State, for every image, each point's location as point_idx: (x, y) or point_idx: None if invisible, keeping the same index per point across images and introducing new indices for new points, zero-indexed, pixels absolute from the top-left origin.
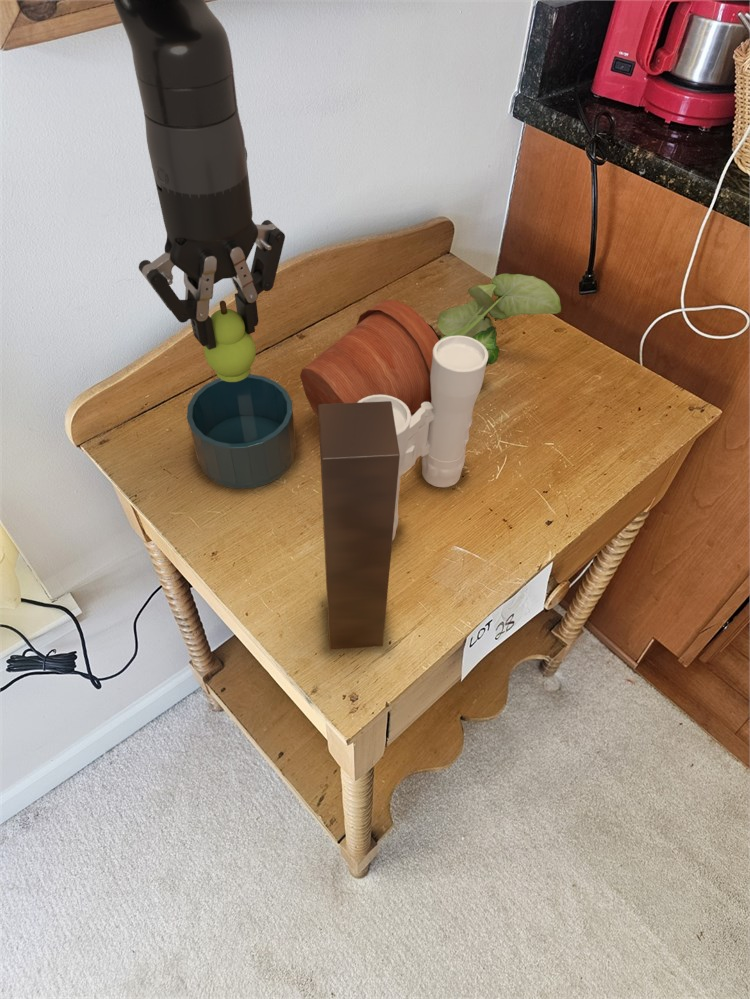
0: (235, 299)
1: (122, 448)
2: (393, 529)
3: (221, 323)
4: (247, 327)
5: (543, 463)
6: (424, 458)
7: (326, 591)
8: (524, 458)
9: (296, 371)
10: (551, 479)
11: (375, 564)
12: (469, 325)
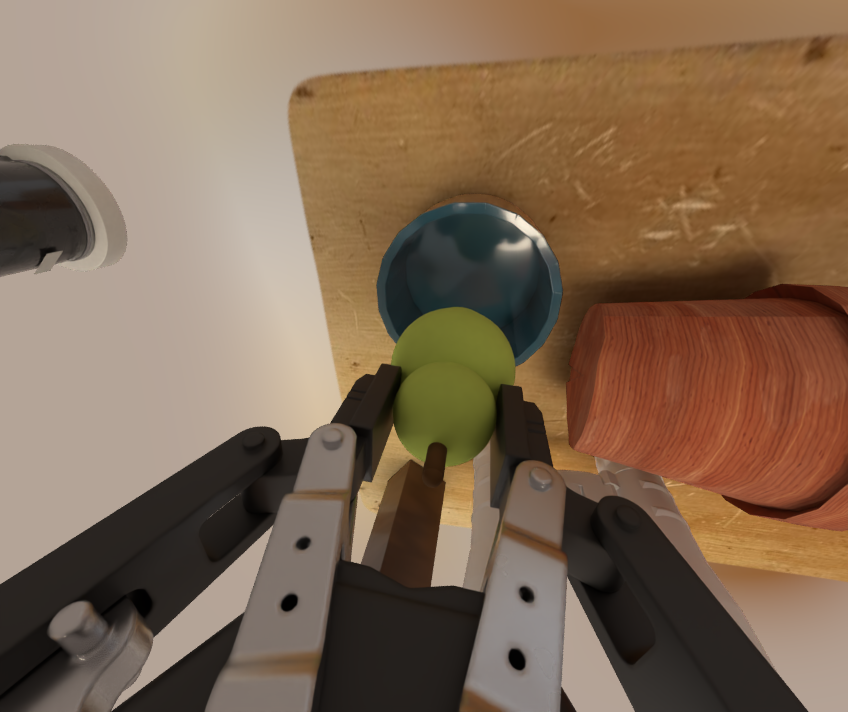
0: (505, 438)
1: (324, 132)
2: None
3: (412, 454)
4: (491, 437)
5: (707, 509)
6: (607, 462)
7: (401, 484)
8: (702, 494)
9: (682, 162)
10: (686, 520)
11: None
12: None
